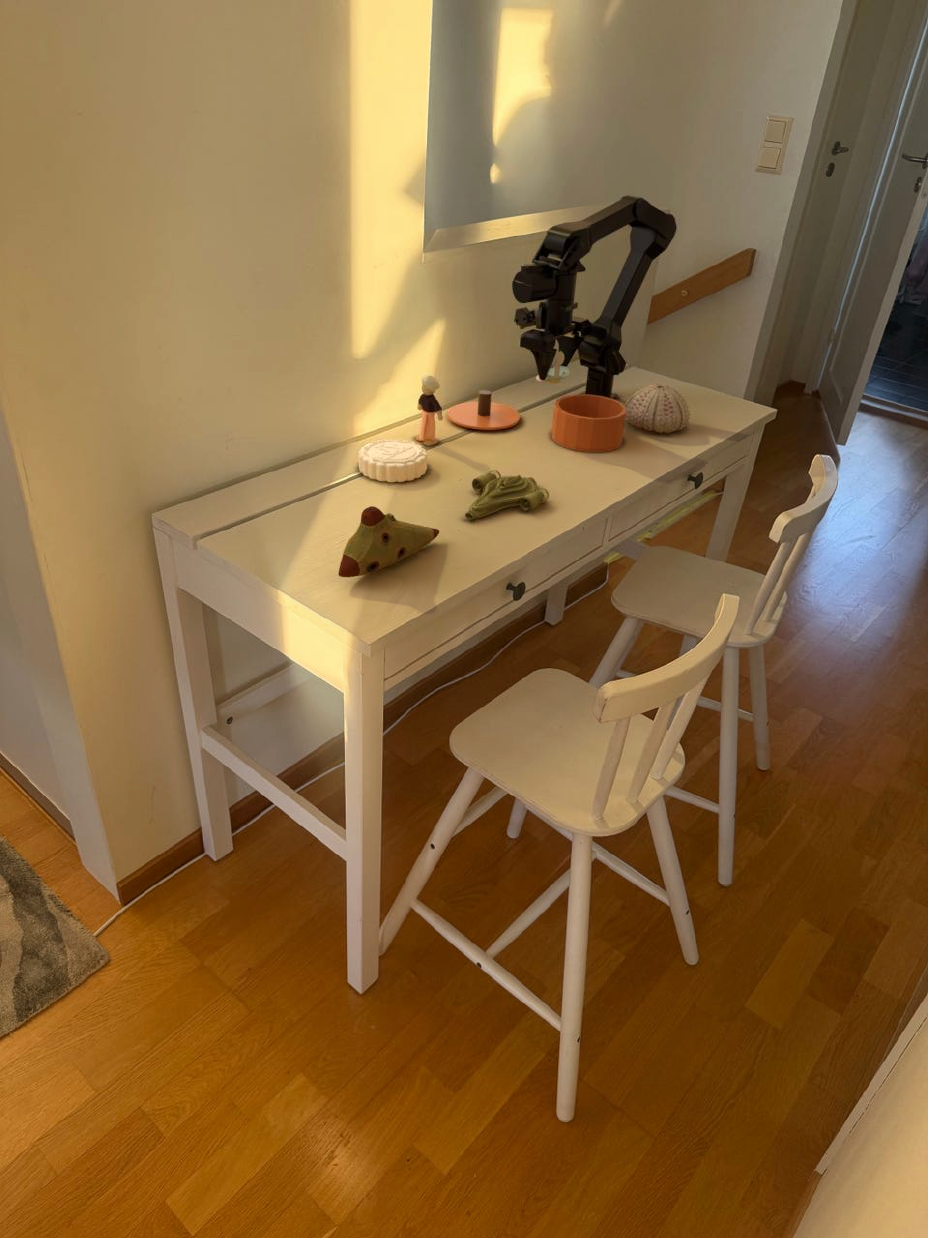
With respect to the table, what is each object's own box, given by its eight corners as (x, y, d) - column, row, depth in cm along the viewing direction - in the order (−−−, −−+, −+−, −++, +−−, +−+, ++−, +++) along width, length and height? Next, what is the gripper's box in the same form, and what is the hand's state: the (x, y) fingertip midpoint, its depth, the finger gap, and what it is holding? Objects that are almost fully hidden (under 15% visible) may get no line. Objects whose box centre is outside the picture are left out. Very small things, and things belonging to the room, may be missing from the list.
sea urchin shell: (646, 408, 189) (652, 371, 185) (701, 426, 181) (709, 388, 177) (608, 422, 181) (613, 384, 177) (664, 442, 173) (671, 402, 169)
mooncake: (388, 449, 164) (388, 431, 162) (440, 467, 159) (441, 448, 157) (344, 470, 156) (344, 450, 154) (398, 489, 150) (398, 469, 148)
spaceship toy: (436, 508, 145) (437, 488, 143) (502, 475, 157) (503, 456, 155) (498, 532, 139) (499, 512, 137) (561, 496, 151) (563, 477, 149)
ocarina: (426, 533, 137) (427, 473, 132) (452, 545, 134) (454, 485, 129) (326, 580, 124) (323, 516, 119) (353, 595, 121) (351, 529, 116)
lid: (474, 401, 188) (476, 375, 185) (533, 418, 181) (535, 391, 178) (432, 420, 178) (433, 392, 175) (493, 438, 171) (494, 410, 168)
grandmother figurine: (406, 438, 169) (407, 372, 162) (420, 433, 172) (422, 368, 165) (435, 450, 165) (437, 383, 158) (449, 445, 167) (452, 378, 161)
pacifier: (530, 382, 181) (557, 387, 179) (532, 352, 178) (559, 356, 175) (545, 374, 187) (572, 378, 184) (547, 343, 183) (574, 348, 181)
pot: (573, 420, 181) (577, 389, 178) (633, 437, 175) (638, 405, 171) (538, 439, 172) (541, 406, 168) (600, 458, 165) (605, 424, 162)
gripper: (549, 281, 184) (542, 357, 192) (498, 297, 171) (494, 377, 180) (596, 291, 179) (587, 368, 187) (548, 308, 166) (541, 390, 174)
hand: (552, 375), depth 182 cm, fingers closed on pacifier, 7 cm apart
